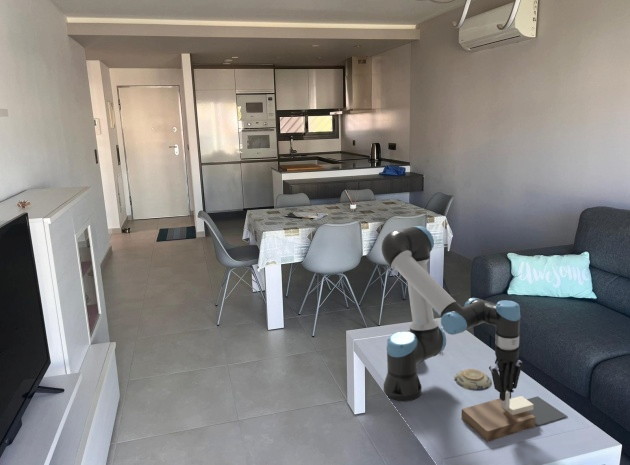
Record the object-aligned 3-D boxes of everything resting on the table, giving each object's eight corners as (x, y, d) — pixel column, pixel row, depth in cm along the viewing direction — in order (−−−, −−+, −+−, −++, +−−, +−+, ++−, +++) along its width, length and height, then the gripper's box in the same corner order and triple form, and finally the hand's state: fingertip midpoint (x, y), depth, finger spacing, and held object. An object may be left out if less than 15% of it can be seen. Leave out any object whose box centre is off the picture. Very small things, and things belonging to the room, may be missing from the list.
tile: (512, 415, 167) (512, 410, 166) (500, 406, 172) (500, 401, 172) (533, 409, 169) (533, 404, 169) (521, 400, 175) (521, 395, 174)
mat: (536, 426, 166) (536, 425, 166) (507, 405, 179) (507, 404, 179) (567, 417, 171) (567, 416, 170) (537, 397, 184) (537, 396, 183)
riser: (487, 441, 160) (487, 431, 159) (461, 418, 173) (461, 409, 172) (534, 427, 166) (535, 416, 165) (506, 406, 179) (507, 396, 178)
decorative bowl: (500, 386, 193) (476, 369, 207) (500, 378, 192) (476, 361, 206) (468, 395, 188) (446, 376, 202) (468, 386, 188) (446, 369, 202)
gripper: (498, 354, 158) (496, 417, 163) (530, 346, 162) (527, 408, 167) (483, 344, 165) (482, 406, 170) (514, 337, 169) (512, 397, 174)
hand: (504, 407), depth 169 cm, fingers closed
